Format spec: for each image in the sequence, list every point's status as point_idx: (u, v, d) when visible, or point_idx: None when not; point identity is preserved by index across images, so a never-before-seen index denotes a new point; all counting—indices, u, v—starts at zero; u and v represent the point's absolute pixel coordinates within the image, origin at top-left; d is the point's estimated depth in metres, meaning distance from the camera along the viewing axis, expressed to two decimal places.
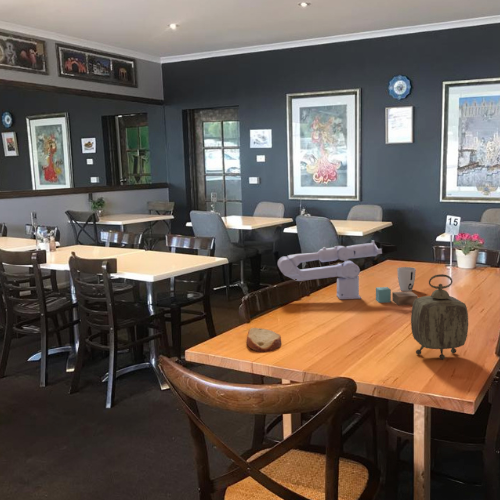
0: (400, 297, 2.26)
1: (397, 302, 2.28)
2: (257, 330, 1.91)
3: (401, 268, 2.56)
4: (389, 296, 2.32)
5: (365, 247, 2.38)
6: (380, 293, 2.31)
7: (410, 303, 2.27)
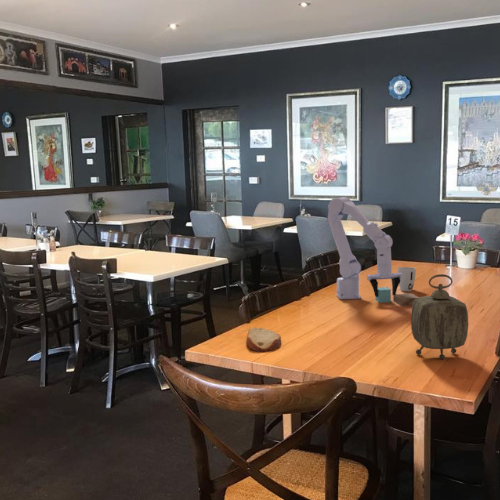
0: (402, 299, 2.25)
1: (399, 304, 2.27)
2: (257, 330, 1.91)
3: (401, 268, 2.56)
4: (389, 296, 2.32)
5: (380, 266, 2.30)
6: (380, 293, 2.31)
7: None
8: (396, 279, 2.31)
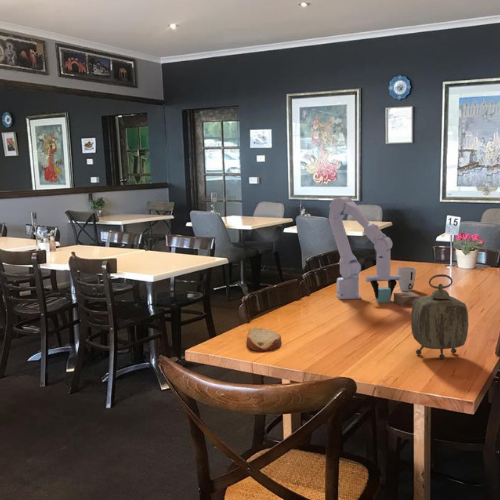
0: (403, 298, 2.24)
1: (400, 303, 2.26)
2: (257, 330, 1.91)
3: (401, 268, 2.56)
4: (389, 296, 2.32)
5: (379, 268, 2.31)
6: (380, 293, 2.31)
7: None
8: (395, 281, 2.31)
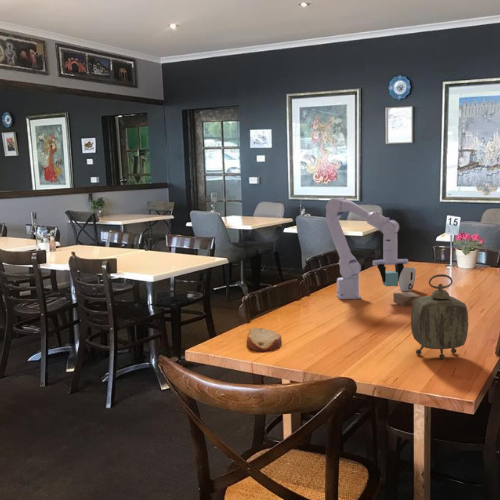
0: (404, 298, 2.24)
1: (400, 303, 2.26)
2: (258, 330, 1.91)
3: None
4: (396, 280, 2.29)
5: (386, 252, 2.28)
6: (387, 277, 2.29)
7: None
8: (402, 265, 2.29)
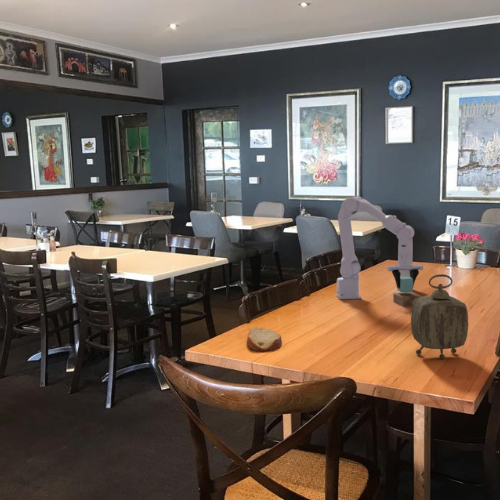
0: (404, 298, 2.24)
1: (401, 303, 2.26)
2: (258, 330, 1.91)
3: None
4: (411, 285, 2.27)
5: (401, 257, 2.26)
6: (402, 282, 2.27)
7: None
8: (417, 271, 2.27)
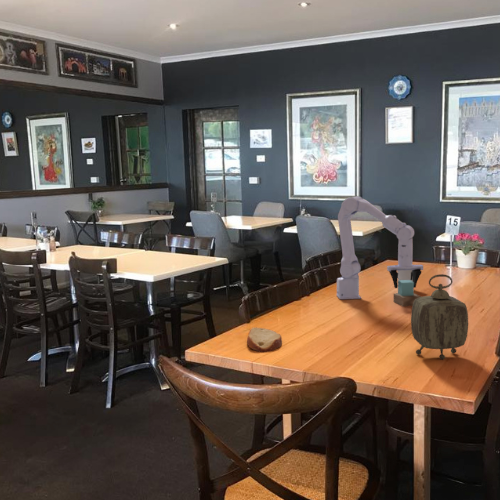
0: (404, 298, 2.24)
1: (401, 303, 2.25)
2: (258, 330, 1.91)
3: None
4: (412, 289, 2.27)
5: (401, 257, 2.26)
6: (403, 286, 2.26)
7: None
8: (417, 271, 2.27)
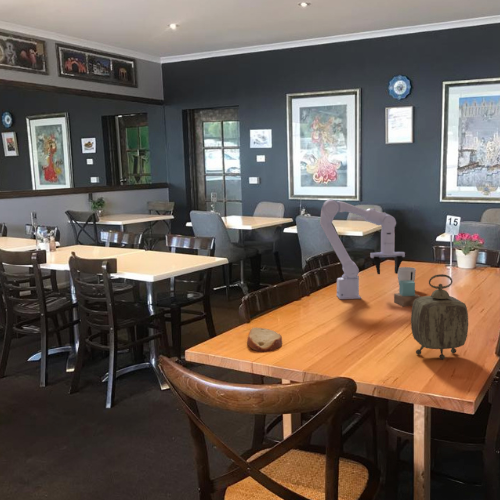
0: (405, 298, 2.24)
1: (402, 303, 2.25)
2: (259, 330, 1.91)
3: (401, 268, 2.56)
4: (413, 289, 2.26)
5: (383, 244, 2.36)
6: (404, 286, 2.26)
7: None
8: (398, 257, 2.37)
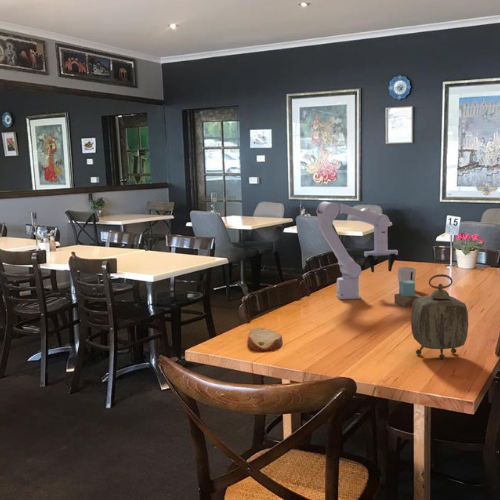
0: (406, 299, 2.23)
1: (402, 304, 2.25)
2: (259, 330, 1.91)
3: (401, 268, 2.56)
4: (413, 290, 2.25)
5: (376, 243, 2.41)
6: (404, 287, 2.25)
7: None
8: (392, 255, 2.42)
